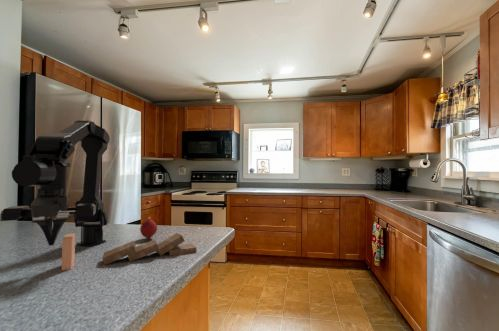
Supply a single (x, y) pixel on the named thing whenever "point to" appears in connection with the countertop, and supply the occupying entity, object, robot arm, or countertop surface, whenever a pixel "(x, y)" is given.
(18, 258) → the countertop surface
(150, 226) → the pomegranate
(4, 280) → the countertop surface
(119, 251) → the domino
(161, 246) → the domino
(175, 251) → the domino
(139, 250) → the domino
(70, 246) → the loose domino
